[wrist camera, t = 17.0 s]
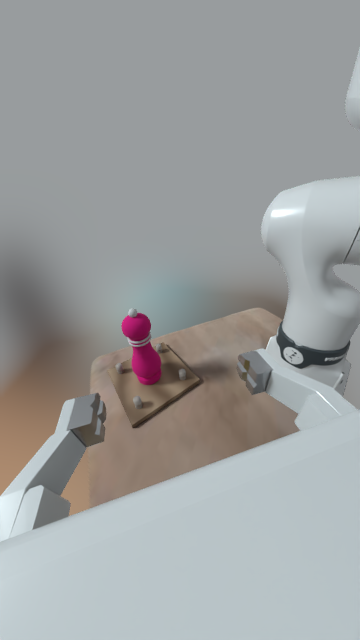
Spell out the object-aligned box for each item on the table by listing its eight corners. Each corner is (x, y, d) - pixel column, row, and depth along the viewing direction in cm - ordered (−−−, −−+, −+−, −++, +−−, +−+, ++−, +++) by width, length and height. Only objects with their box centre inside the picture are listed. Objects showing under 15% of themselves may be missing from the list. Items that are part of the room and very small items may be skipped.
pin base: (163, 345, 58) (162, 336, 55) (199, 382, 45) (199, 372, 43) (108, 373, 50) (104, 364, 48) (133, 428, 37) (128, 419, 35)
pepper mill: (130, 376, 47) (106, 311, 36) (152, 360, 51) (137, 297, 40) (146, 392, 42) (125, 324, 31) (169, 374, 46) (157, 307, 35)
